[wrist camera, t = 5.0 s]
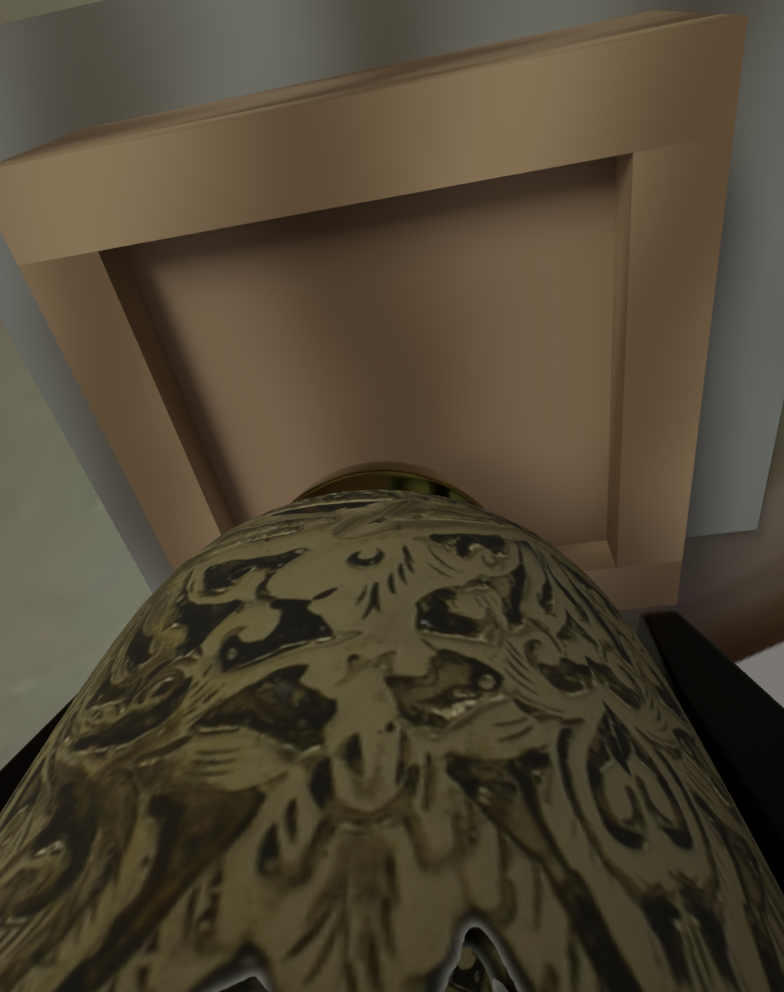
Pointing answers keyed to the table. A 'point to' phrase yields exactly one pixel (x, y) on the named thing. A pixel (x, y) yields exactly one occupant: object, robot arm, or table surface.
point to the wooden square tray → (405, 260)
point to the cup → (380, 778)
